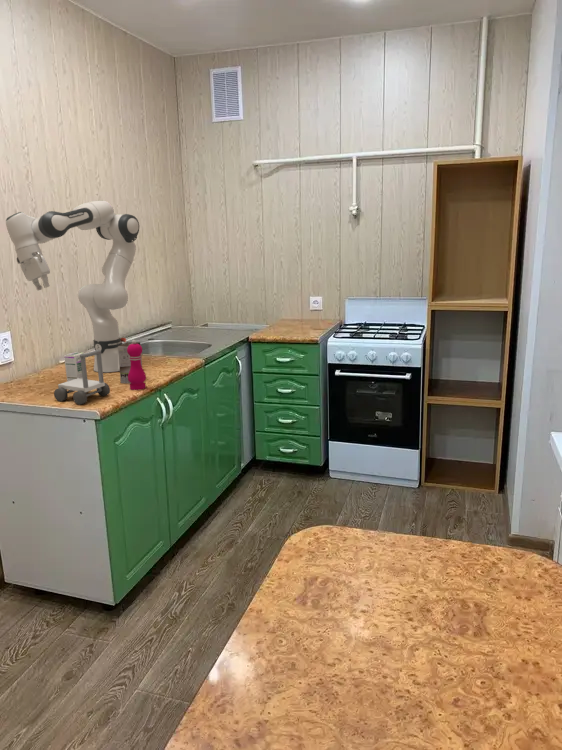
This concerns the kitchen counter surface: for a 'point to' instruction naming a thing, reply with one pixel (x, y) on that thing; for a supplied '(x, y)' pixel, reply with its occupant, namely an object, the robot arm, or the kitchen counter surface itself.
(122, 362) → the coffee box
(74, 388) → the hand trolley
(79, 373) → the syrup box
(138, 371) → the pepper mill
